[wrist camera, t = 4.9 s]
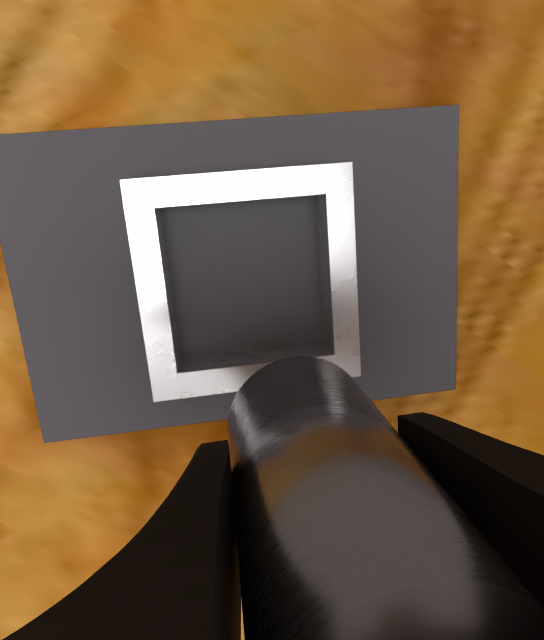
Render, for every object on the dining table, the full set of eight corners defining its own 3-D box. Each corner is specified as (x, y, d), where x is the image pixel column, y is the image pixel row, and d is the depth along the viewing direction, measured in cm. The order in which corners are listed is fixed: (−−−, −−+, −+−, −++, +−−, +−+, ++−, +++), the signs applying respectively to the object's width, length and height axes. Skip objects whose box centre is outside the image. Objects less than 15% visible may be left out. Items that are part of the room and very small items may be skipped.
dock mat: (453, 106, 19) (458, 104, 18) (451, 386, 21) (455, 389, 21) (-18, 137, 17) (-23, 135, 16) (47, 438, 20) (44, 443, 19)
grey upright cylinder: (363, 347, 13) (589, 555, 5) (369, 474, 14) (567, 806, 6) (219, 366, 13) (234, 624, 5) (236, 495, 14) (271, 880, 6)
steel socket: (337, 167, 18) (352, 161, 16) (346, 360, 20) (360, 376, 18) (129, 183, 17) (119, 179, 16) (159, 383, 19) (153, 402, 17)
